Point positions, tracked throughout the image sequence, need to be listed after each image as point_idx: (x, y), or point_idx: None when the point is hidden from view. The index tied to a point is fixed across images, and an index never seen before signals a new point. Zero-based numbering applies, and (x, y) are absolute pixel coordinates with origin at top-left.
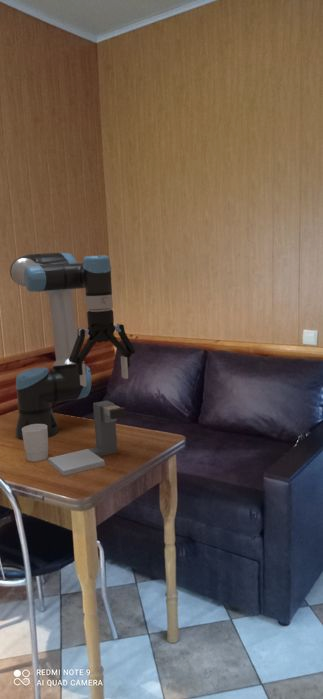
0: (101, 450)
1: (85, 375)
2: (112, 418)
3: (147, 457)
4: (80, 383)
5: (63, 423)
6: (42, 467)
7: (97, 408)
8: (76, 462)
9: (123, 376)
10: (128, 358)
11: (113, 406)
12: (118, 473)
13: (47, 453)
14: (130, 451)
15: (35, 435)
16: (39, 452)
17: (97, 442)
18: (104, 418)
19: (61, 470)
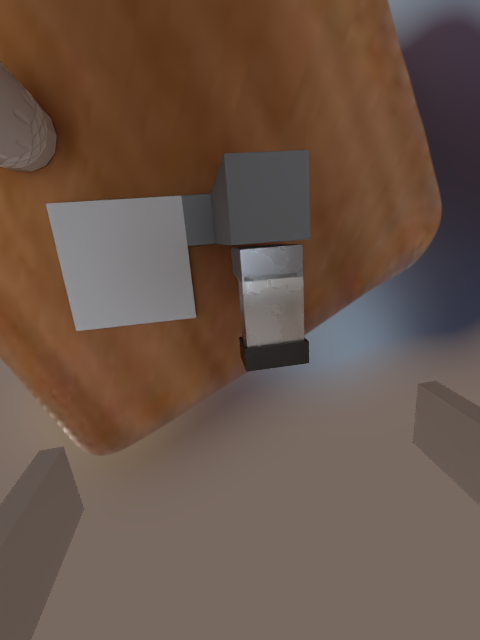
0: (213, 236)
1: (36, 617)
2: (241, 358)
3: None
4: (34, 465)
5: None
6: (30, 232)
7: (226, 217)
8: (122, 290)
9: (425, 417)
10: None
11: (285, 291)
12: (207, 374)
13: (48, 151)
14: None
15: None
16: (9, 167)
17: (212, 204)
18: (234, 271)
19: (74, 316)
